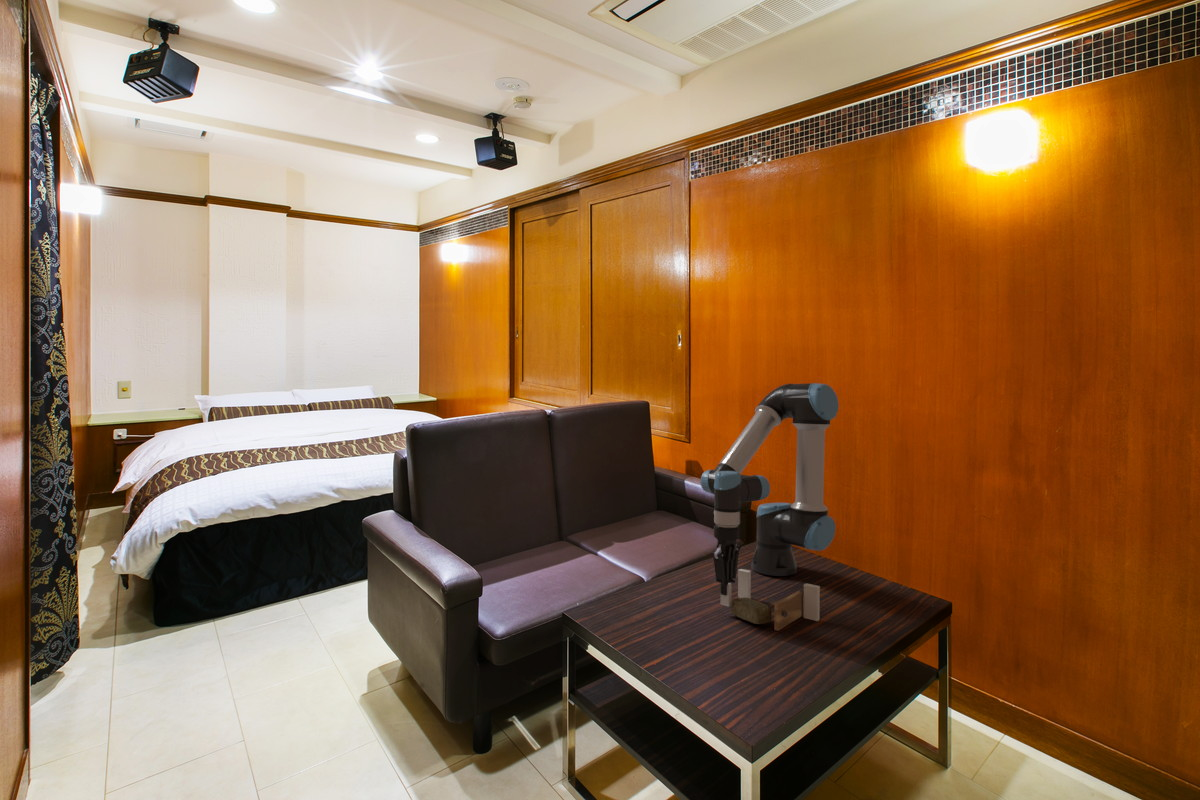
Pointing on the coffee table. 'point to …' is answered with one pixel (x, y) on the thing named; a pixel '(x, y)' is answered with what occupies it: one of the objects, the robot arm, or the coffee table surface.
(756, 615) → the stone block
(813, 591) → the wall frame
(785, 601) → the door
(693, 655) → the coffee table surface
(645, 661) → the coffee table surface
